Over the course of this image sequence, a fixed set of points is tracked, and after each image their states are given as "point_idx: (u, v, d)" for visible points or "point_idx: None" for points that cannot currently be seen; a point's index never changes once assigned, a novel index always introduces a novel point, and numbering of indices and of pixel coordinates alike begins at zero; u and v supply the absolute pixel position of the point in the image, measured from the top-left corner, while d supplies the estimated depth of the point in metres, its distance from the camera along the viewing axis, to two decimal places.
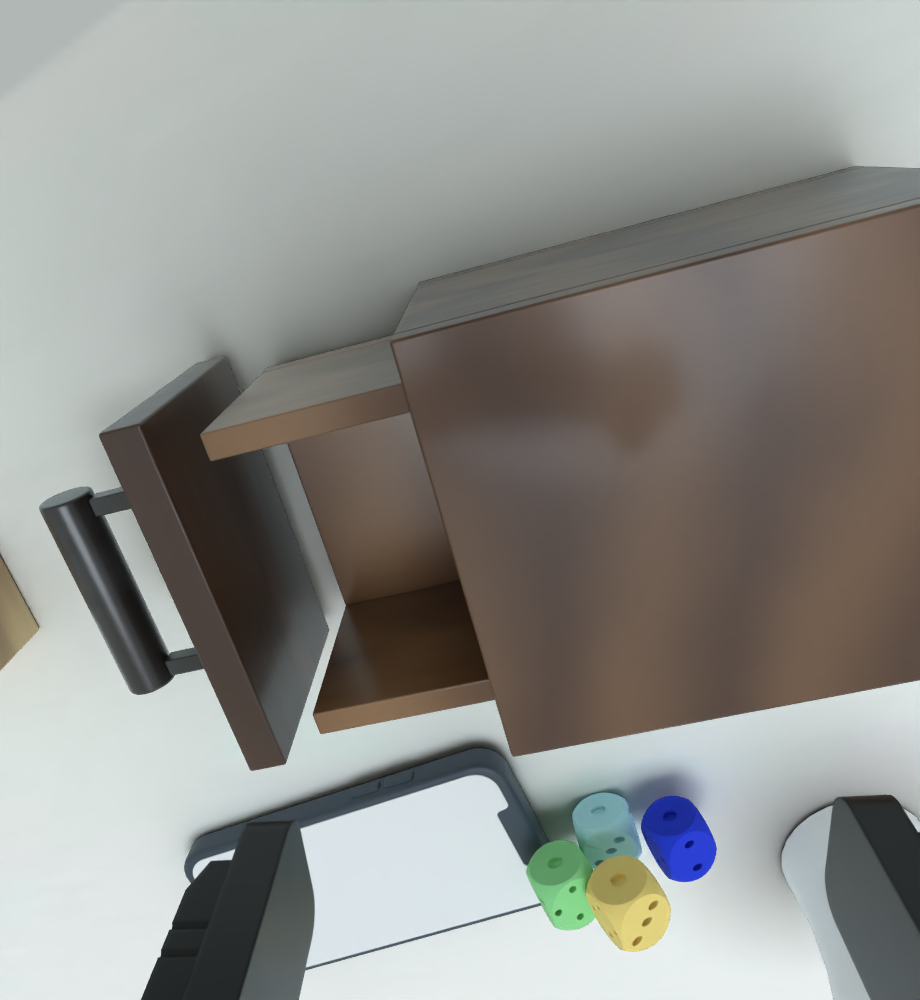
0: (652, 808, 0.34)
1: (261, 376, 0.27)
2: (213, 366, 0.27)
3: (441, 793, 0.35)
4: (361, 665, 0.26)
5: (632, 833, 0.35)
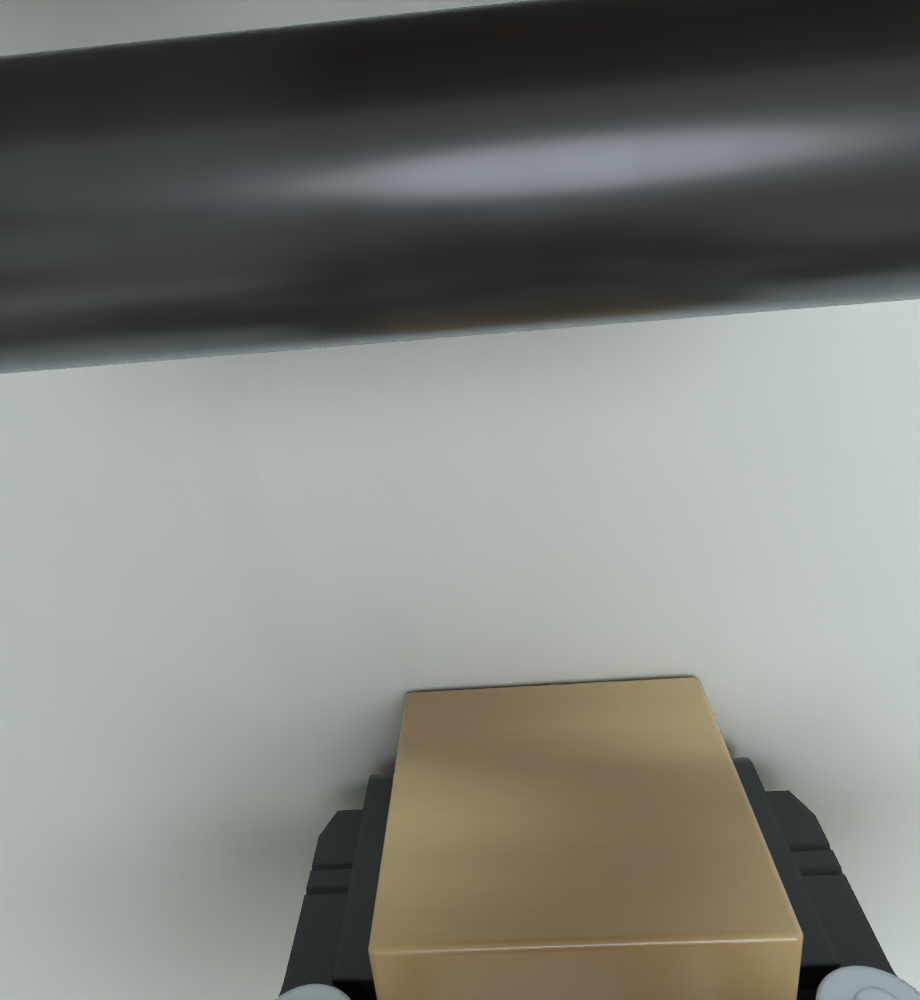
0: None
1: None
2: None
3: None
4: None
5: None
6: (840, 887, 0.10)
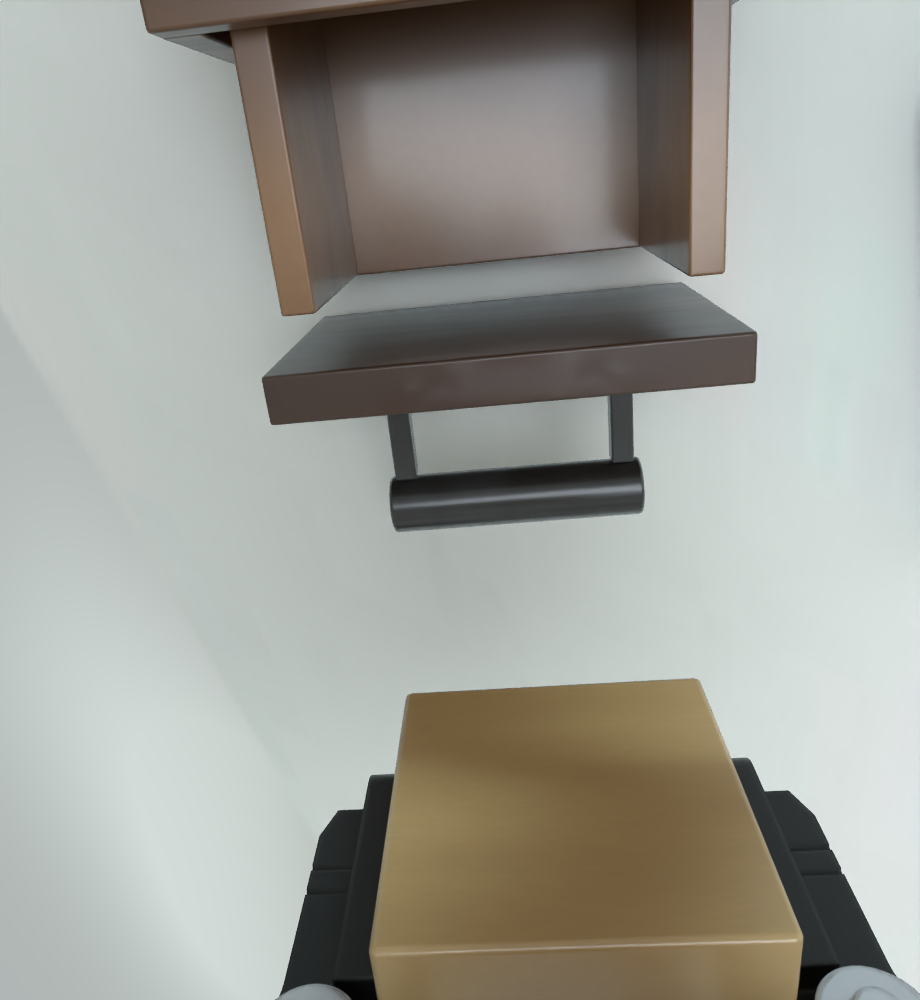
0: None
1: None
2: (315, 326, 0.25)
3: None
4: (669, 210, 0.19)
5: None
6: (840, 887, 0.10)
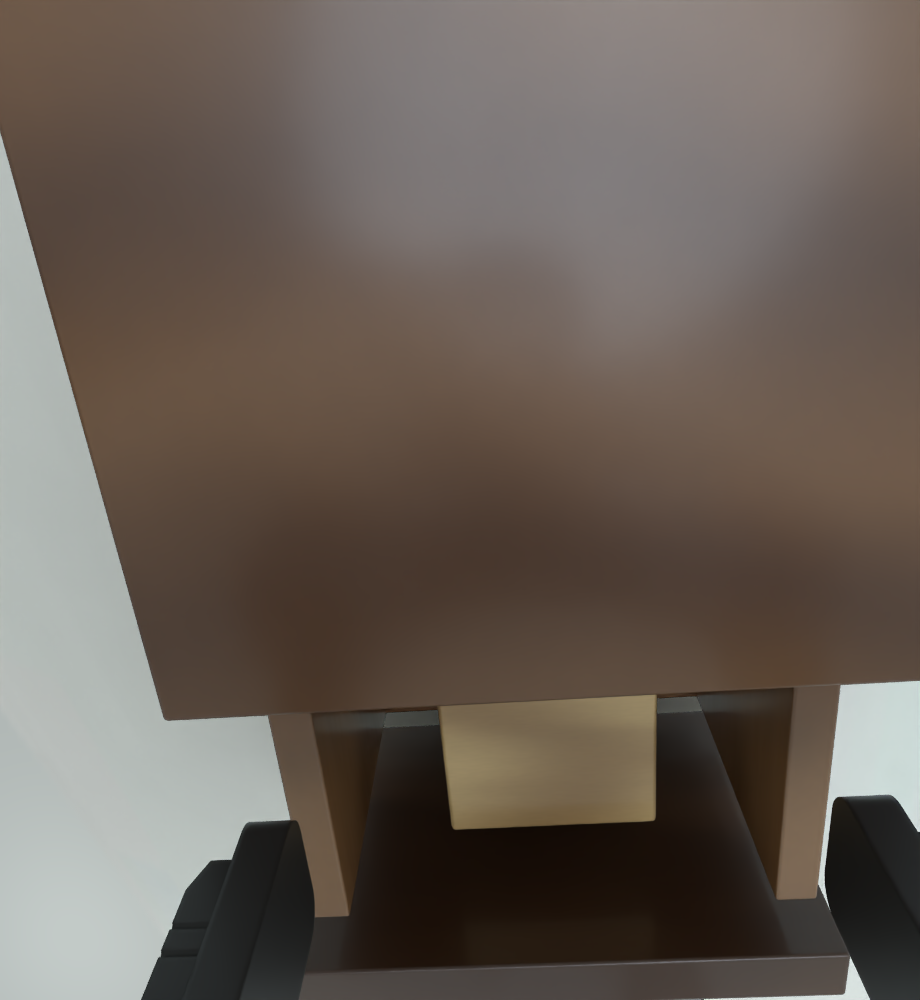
0: None
1: None
2: None
3: None
4: (746, 773, 0.17)
5: None
6: None
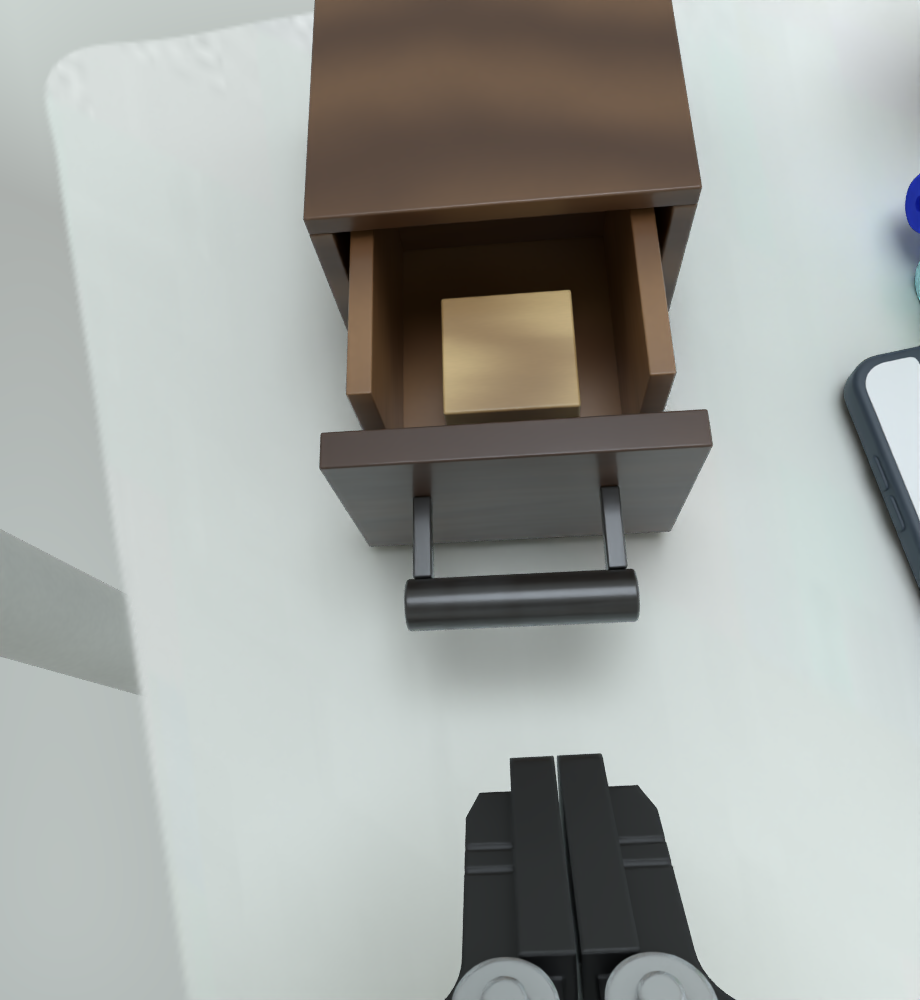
0: (917, 226, 0.33)
1: None
2: None
3: (892, 421, 0.30)
4: (637, 373, 0.27)
5: None
6: (666, 878, 0.11)
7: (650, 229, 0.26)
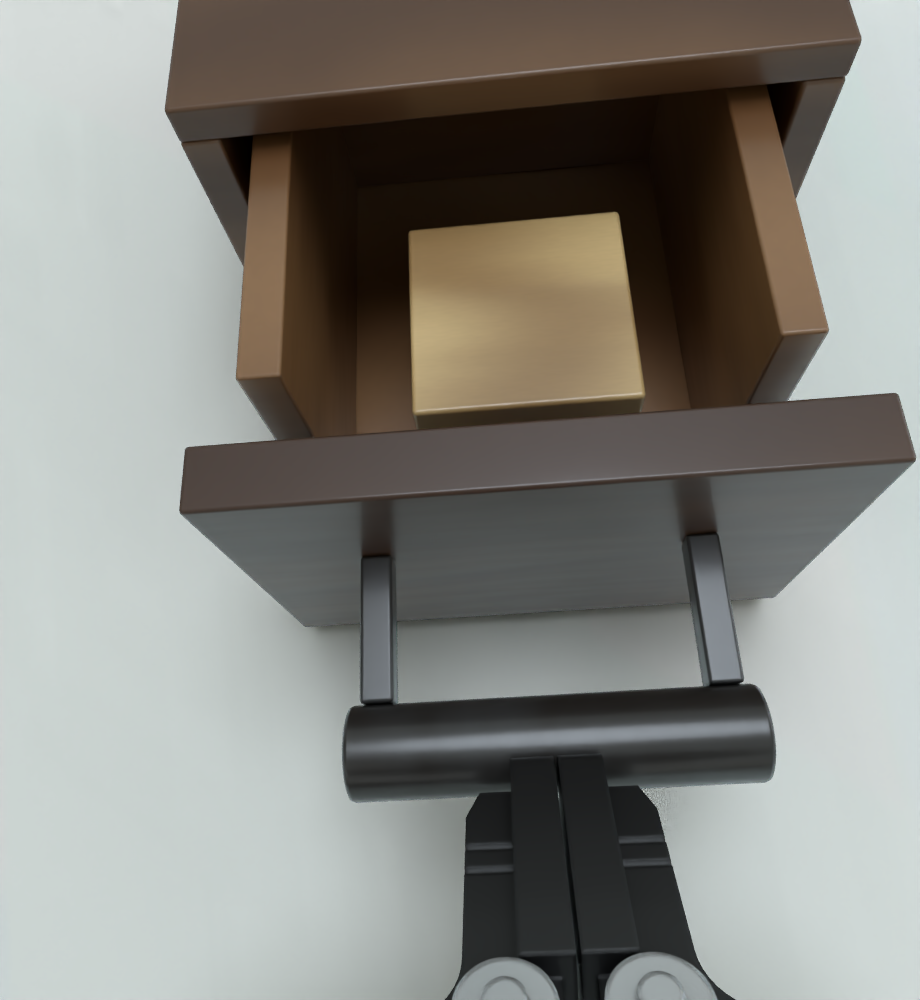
0: None
1: None
2: None
3: None
4: (737, 341, 0.16)
5: None
6: (665, 878, 0.11)
7: (759, 96, 0.15)
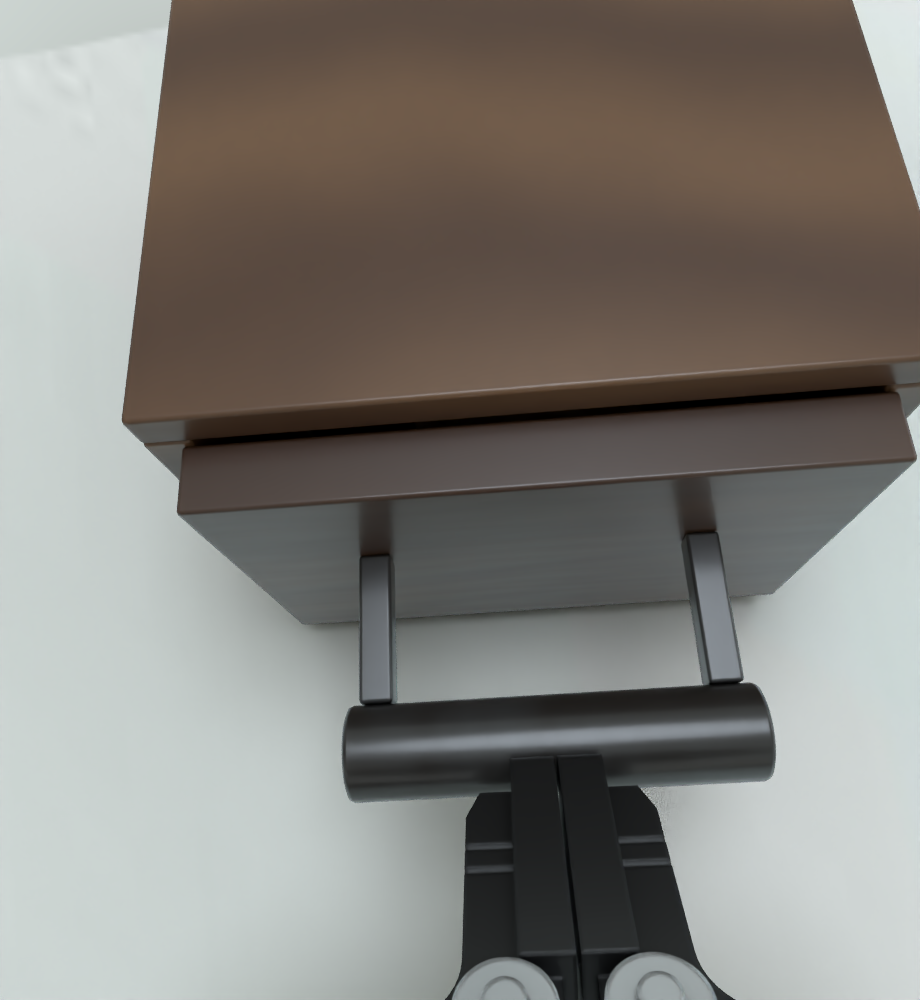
0: None
1: None
2: None
3: None
4: None
5: None
6: (665, 878, 0.11)
7: None
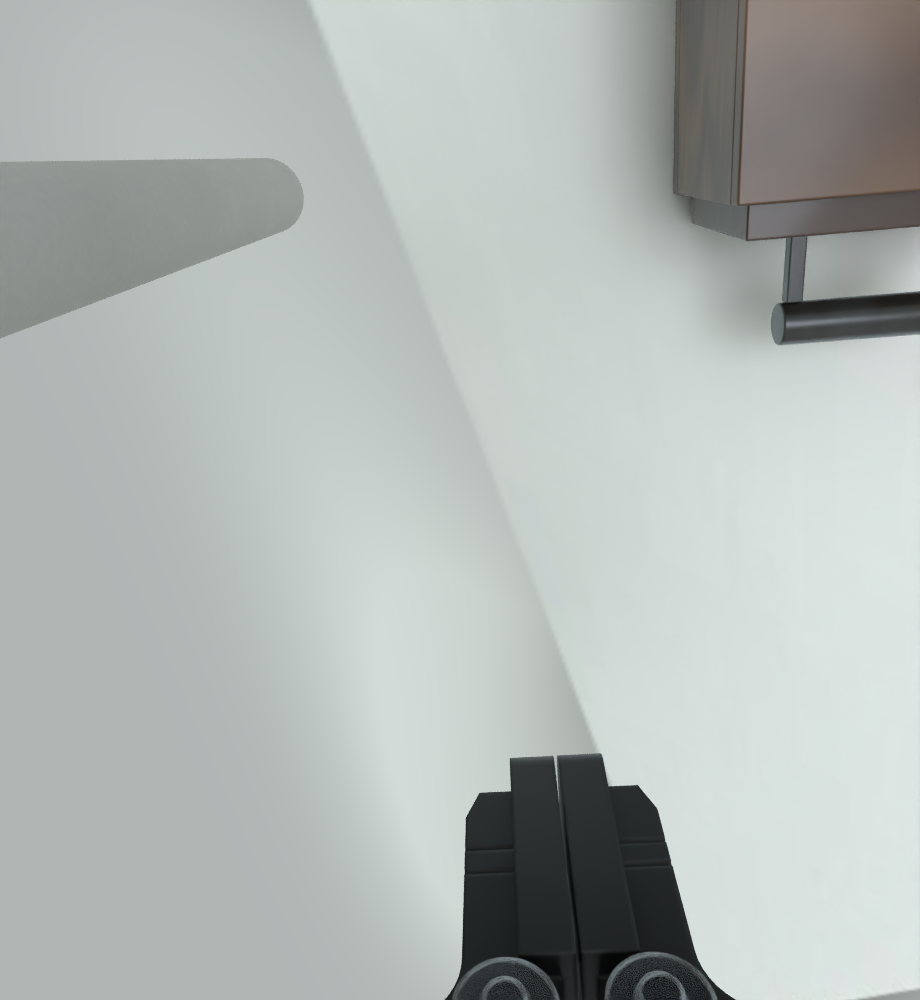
0: None
1: None
2: None
3: None
4: None
5: None
6: (665, 878, 0.11)
7: None
